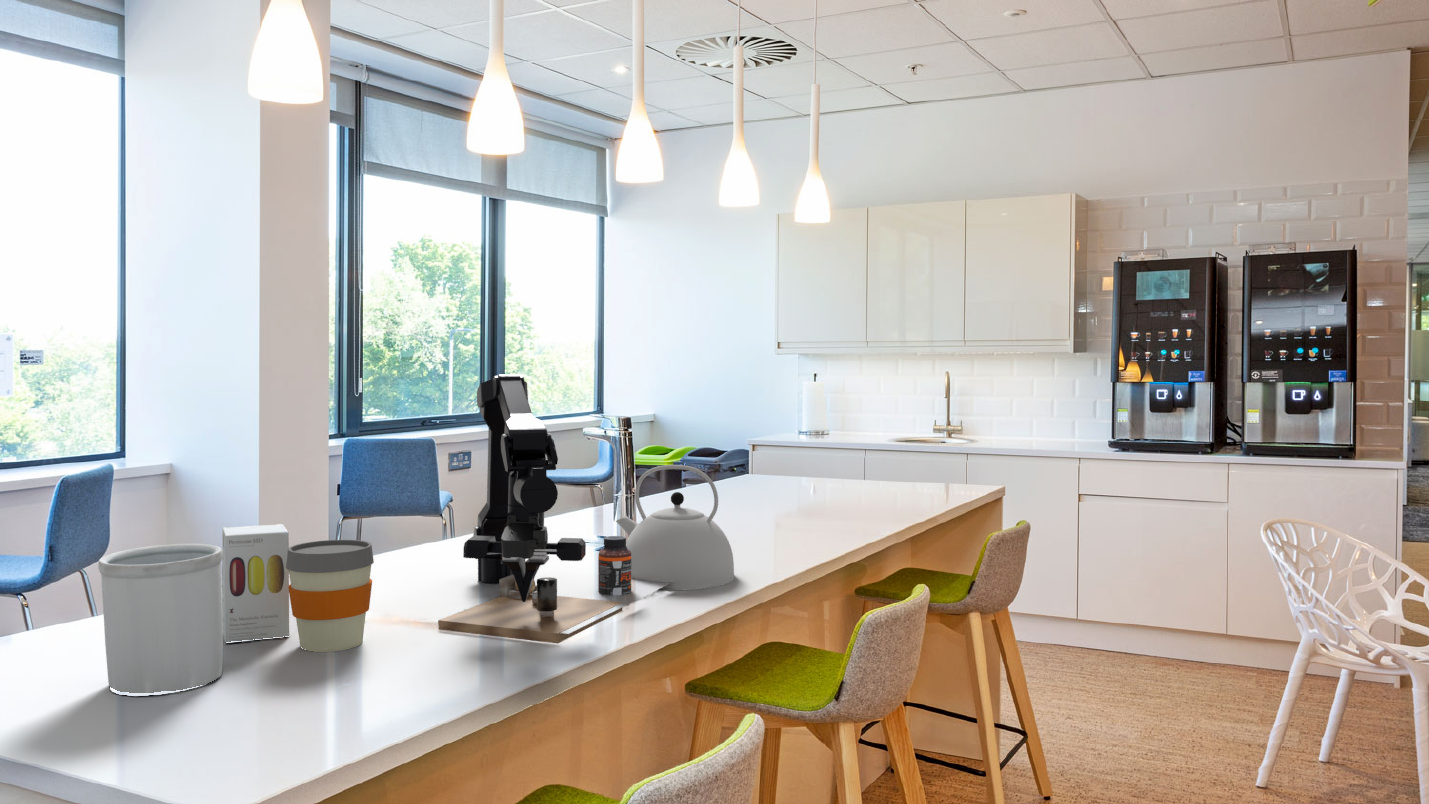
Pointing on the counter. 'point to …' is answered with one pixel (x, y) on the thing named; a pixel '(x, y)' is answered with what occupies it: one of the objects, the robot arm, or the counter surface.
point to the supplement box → (255, 582)
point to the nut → (530, 589)
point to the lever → (546, 596)
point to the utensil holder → (162, 617)
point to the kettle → (679, 543)
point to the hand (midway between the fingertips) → (524, 601)
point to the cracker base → (526, 616)
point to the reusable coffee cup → (330, 592)
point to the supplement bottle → (614, 567)
